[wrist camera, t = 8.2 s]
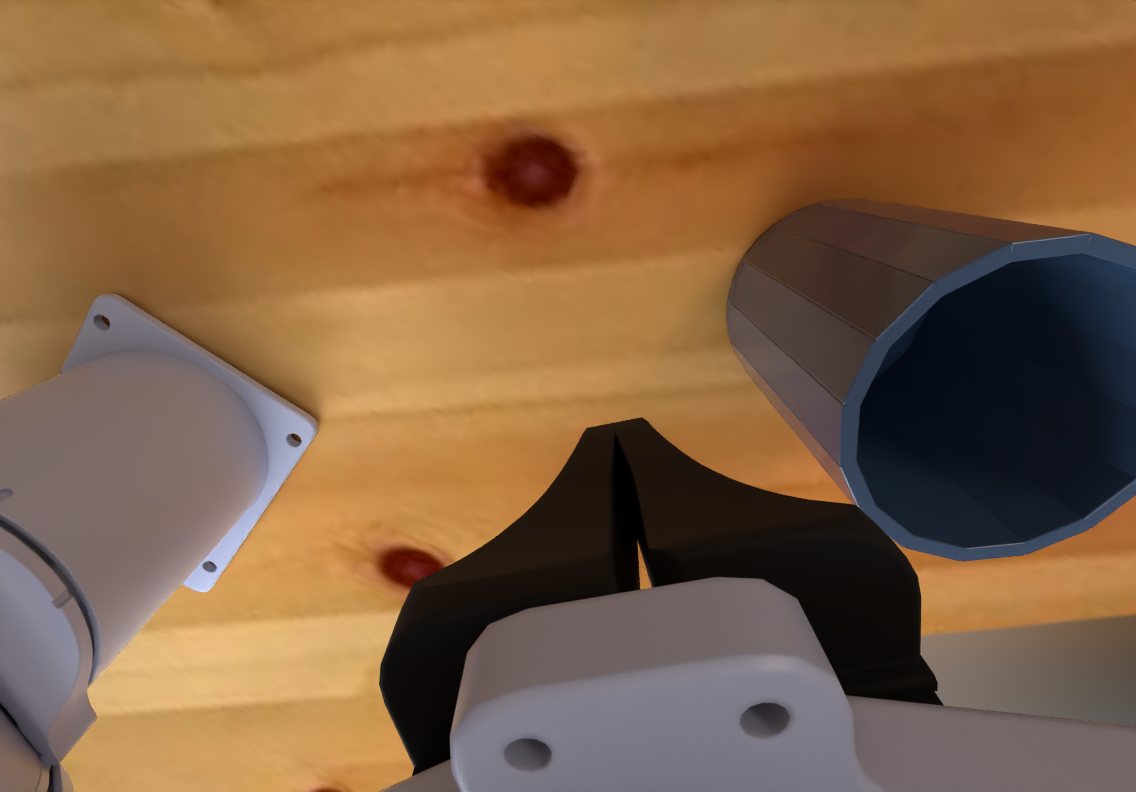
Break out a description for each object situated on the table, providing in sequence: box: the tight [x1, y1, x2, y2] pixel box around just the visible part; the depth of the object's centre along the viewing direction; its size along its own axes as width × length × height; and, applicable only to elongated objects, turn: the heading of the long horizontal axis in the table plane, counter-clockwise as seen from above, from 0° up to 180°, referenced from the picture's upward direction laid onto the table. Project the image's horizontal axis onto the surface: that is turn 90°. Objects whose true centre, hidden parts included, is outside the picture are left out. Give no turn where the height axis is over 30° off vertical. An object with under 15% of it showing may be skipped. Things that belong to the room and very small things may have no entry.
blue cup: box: [726, 198, 1136, 561], centre depth 15 cm, size 7×7×9 cm
